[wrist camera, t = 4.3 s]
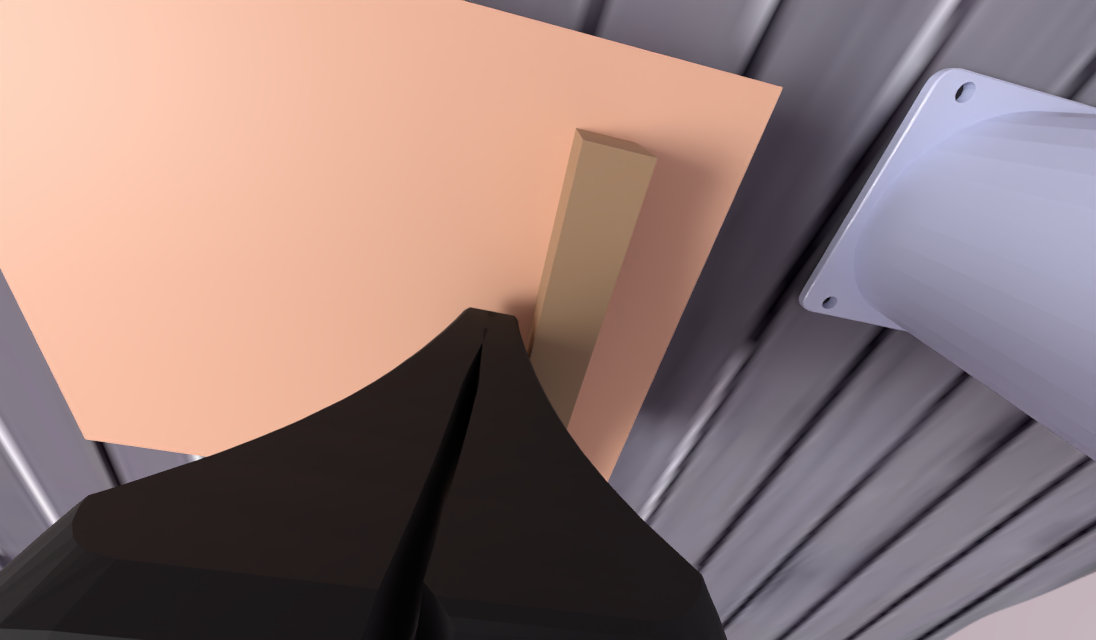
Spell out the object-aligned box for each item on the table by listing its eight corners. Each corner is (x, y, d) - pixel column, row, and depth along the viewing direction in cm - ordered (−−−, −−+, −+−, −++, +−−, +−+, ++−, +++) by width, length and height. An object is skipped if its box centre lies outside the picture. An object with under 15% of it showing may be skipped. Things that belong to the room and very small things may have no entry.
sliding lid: (759, 87, 8) (851, 87, 6) (591, 487, 15) (600, 573, 12) (-126, -152, 7) (-550, -301, 4) (116, 416, 13) (9, 497, 11)
